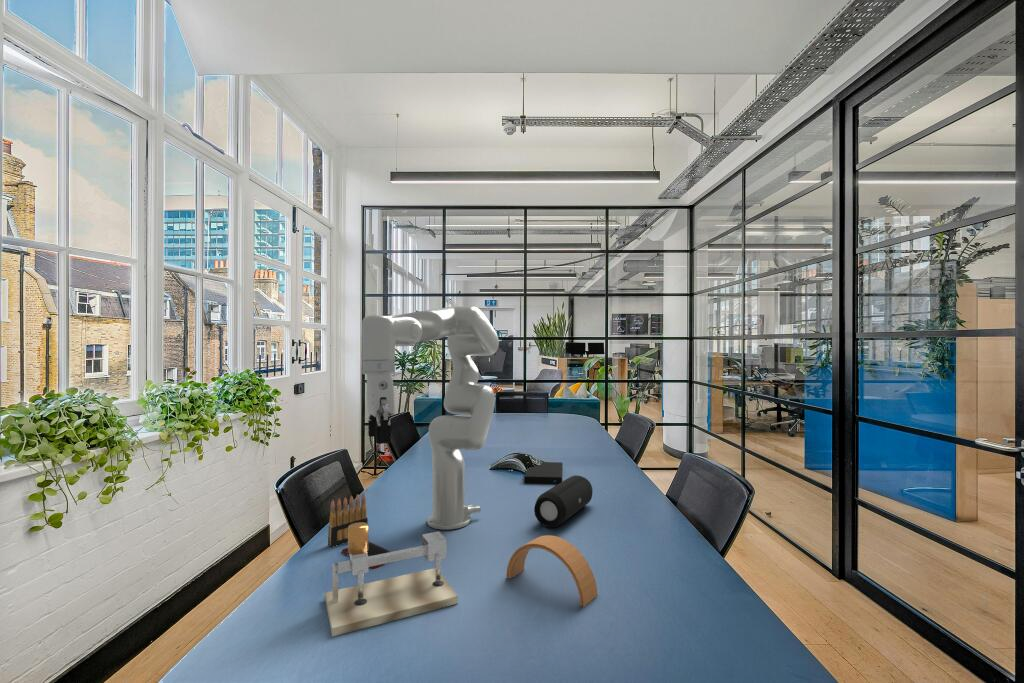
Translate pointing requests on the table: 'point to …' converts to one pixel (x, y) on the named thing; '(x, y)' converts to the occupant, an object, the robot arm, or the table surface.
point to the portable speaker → (563, 501)
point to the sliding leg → (359, 552)
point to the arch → (567, 556)
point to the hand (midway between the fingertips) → (379, 439)
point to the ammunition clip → (345, 519)
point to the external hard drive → (544, 473)
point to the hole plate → (388, 601)
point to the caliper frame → (399, 558)
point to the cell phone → (371, 552)
